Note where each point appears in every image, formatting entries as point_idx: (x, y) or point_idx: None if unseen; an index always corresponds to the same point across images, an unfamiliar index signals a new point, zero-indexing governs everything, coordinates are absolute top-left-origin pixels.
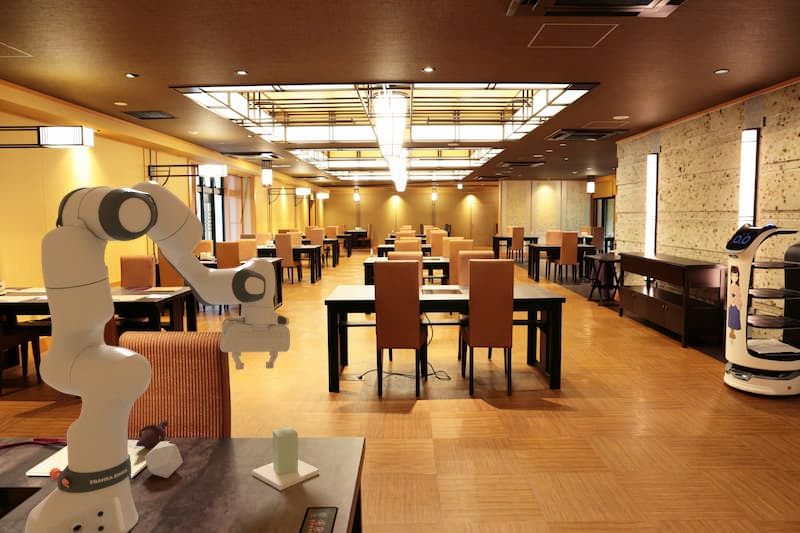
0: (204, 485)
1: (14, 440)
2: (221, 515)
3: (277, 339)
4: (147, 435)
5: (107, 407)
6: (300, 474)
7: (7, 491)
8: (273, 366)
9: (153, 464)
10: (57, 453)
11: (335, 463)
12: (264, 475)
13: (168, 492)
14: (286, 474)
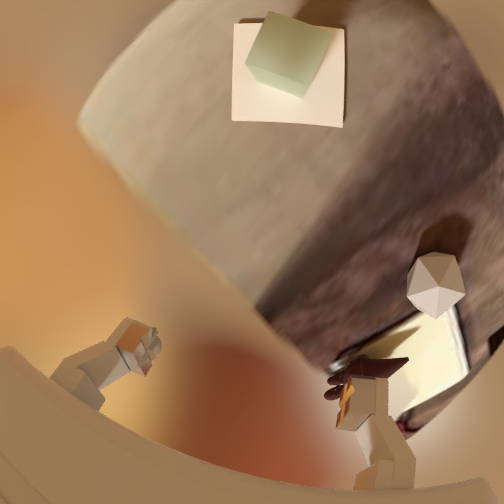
0: (422, 172)
1: (406, 437)
2: (455, 65)
3: (7, 444)
4: (385, 373)
5: None
6: None
7: (497, 348)
8: (122, 322)
9: (460, 273)
10: (420, 401)
11: (177, 43)
12: (340, 85)
13: (462, 204)
14: None
